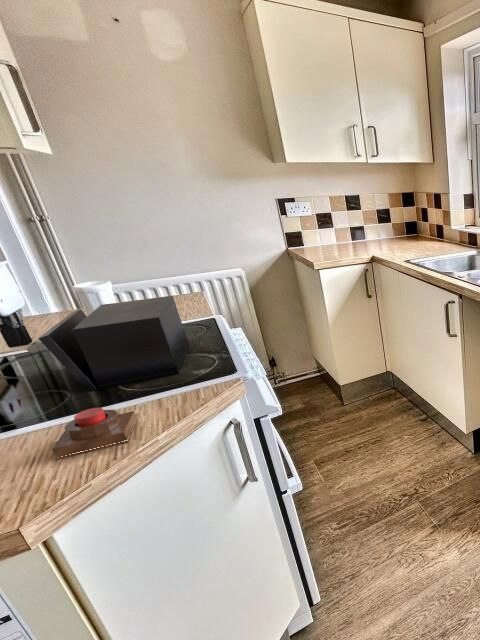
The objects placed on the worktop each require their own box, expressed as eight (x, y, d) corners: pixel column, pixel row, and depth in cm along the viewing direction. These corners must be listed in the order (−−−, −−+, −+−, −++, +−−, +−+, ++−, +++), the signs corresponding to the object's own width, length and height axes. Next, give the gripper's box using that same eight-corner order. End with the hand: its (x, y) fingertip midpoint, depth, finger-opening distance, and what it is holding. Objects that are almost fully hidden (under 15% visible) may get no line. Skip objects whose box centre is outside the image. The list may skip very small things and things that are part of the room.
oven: (99, 390, 90) (72, 329, 85) (122, 357, 106) (100, 304, 101) (179, 374, 97) (158, 317, 91) (189, 346, 113) (172, 295, 107)
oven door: (66, 401, 88) (14, 346, 81) (95, 366, 104) (53, 318, 98) (97, 389, 90) (47, 335, 83) (120, 356, 106) (80, 308, 99)
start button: (75, 430, 70) (70, 421, 69) (82, 419, 73) (77, 411, 72) (103, 423, 71) (99, 414, 71) (109, 413, 74) (105, 405, 74)
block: (57, 460, 68) (46, 439, 67) (74, 435, 75) (64, 416, 73) (128, 442, 72) (119, 423, 71) (138, 420, 79) (130, 402, 77)
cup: (134, 324, 130) (117, 279, 124) (118, 334, 122) (98, 286, 117) (104, 327, 128) (85, 281, 123) (85, 336, 121) (64, 288, 115)
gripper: (-32, 255, 86) (12, 337, 93) (-77, 268, 74) (-23, 362, 81) (19, 250, 90) (58, 330, 97) (-16, 262, 78) (30, 353, 85)
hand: (21, 344), depth 89 cm, fingers closed
